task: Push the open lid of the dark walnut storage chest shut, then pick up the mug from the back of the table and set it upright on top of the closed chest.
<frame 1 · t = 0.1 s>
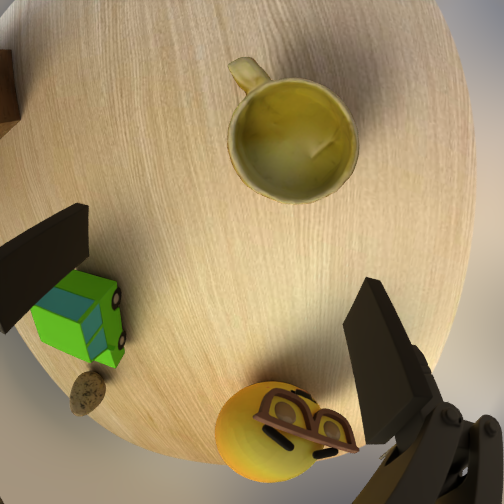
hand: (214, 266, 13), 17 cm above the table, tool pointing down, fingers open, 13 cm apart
decorative egg: (98, 374, 45), on the table
mug: (284, 123, 25), on the table
toy car: (101, 308, 37), on the table
emoji: (275, 390, 41), on the table
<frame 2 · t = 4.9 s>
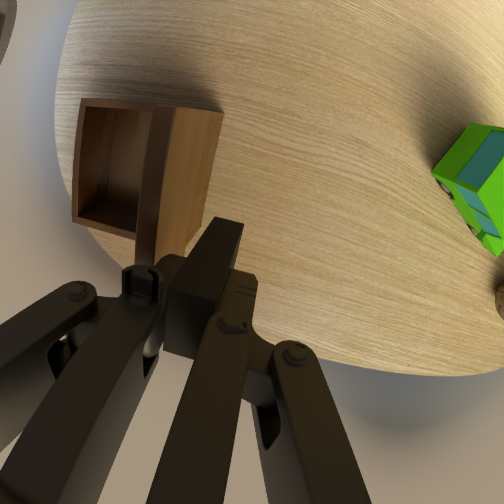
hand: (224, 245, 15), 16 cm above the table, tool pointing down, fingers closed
decorative egg: (500, 287, 31), on the table
chest: (156, 160, 29), on the table
toy car: (474, 186, 26), on the table
chest lid: (174, 215, 17), point 14 cm above the table, hinge at 98.9°, touching gripper
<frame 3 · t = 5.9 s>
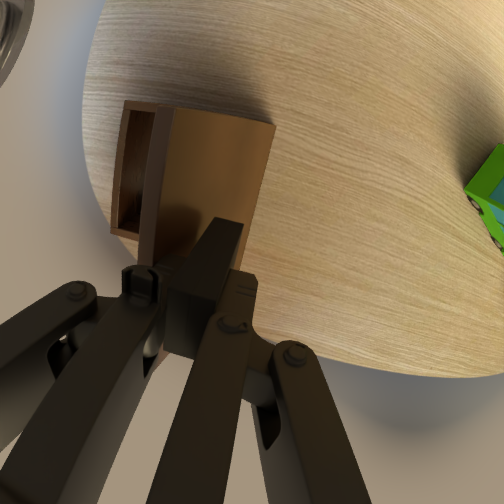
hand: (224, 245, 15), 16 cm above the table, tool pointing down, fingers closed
chest: (199, 170, 29), on the table
toy car: (498, 201, 26), on the table
chest lid: (215, 225, 17), point 14 cm above the table, hinge at 77.2°, touching gripper
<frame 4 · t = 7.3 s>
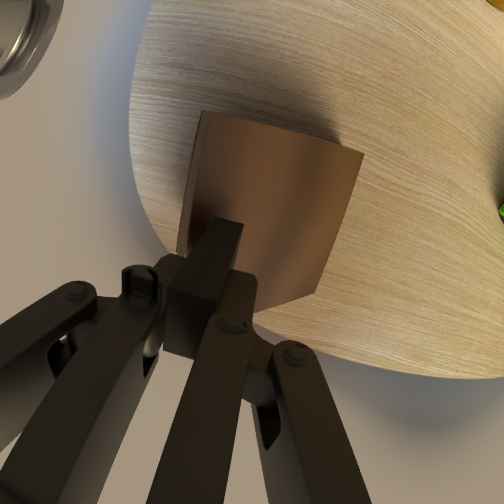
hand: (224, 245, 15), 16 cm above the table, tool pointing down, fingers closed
chest: (265, 186, 29), on the table
chest lid: (278, 231, 19), point 12 cm above the table, hinge at 44.6°
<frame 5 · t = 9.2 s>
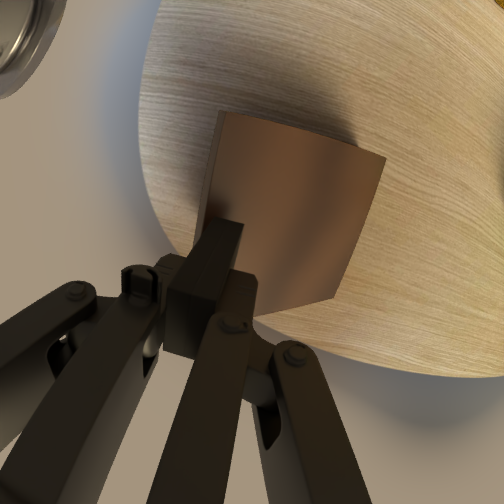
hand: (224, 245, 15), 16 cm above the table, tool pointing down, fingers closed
chest lid: (296, 232, 18), point 11 cm above the table, hinge at 37.1°
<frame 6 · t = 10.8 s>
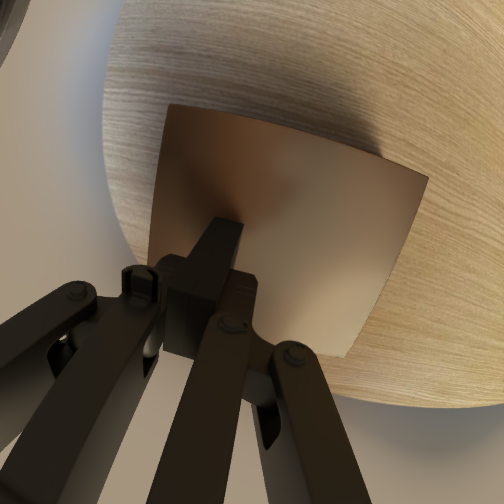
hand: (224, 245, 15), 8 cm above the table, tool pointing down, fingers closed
chest lid: (275, 250, 15), point 8 cm above the table, hinge at 2.6°, touching gripper
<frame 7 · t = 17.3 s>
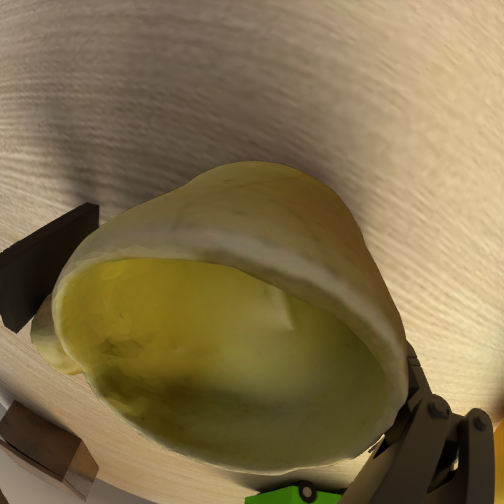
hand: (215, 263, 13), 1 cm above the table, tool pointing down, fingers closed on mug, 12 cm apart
mug: (217, 255, 13), on the table, touching gripper
chest: (57, 438, 29), on the table
toy car: (307, 492, 27), on the table
chest lid: (37, 471, 23), point 8 cm above the table, hinge at 2.4°
when the fingers open (8 cm above the table, at t = 25.8 s): mug stays where it is, resting on chest lid.
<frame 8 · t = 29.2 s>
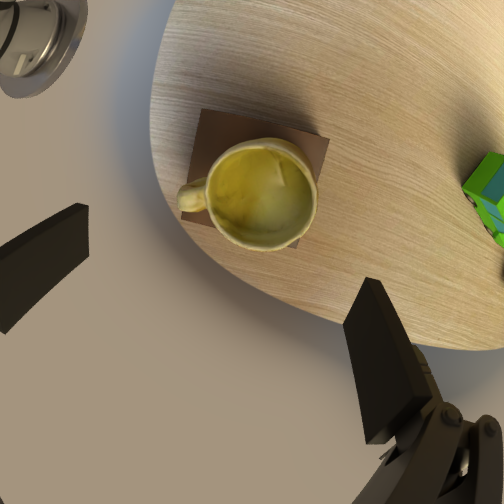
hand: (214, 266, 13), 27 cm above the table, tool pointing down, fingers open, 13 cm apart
mug: (252, 179, 30), point 7 cm above the table, touching chest lid
toy car: (489, 197, 34), on the table
chest lid: (251, 178, 30), point 7 cm above the table, hinge at -0.2°, touching mug
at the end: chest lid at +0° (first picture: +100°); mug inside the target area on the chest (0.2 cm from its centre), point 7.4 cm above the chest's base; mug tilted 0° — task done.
